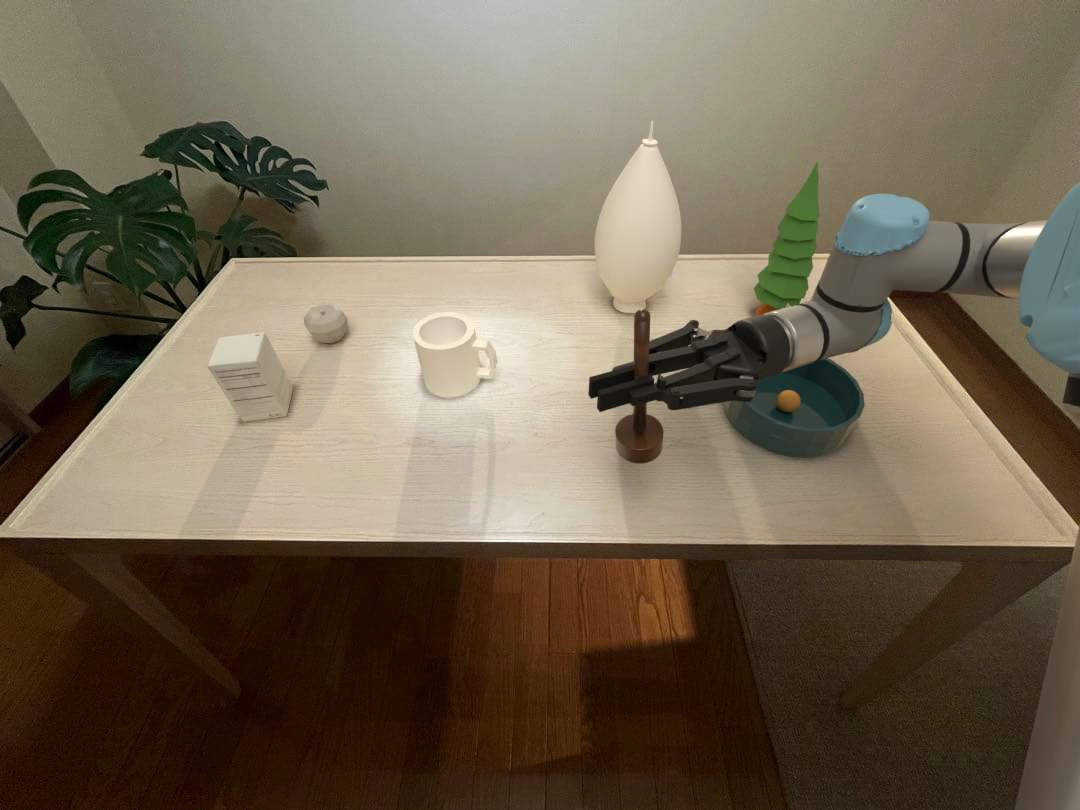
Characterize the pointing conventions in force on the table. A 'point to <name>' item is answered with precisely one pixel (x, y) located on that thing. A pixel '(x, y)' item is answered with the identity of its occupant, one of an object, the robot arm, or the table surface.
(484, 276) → the table surface
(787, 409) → the dough ball
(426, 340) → the mug
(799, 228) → the decorative tree
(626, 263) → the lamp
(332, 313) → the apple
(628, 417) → the wooden peg stand
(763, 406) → the bowl
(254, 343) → the white packaging box
